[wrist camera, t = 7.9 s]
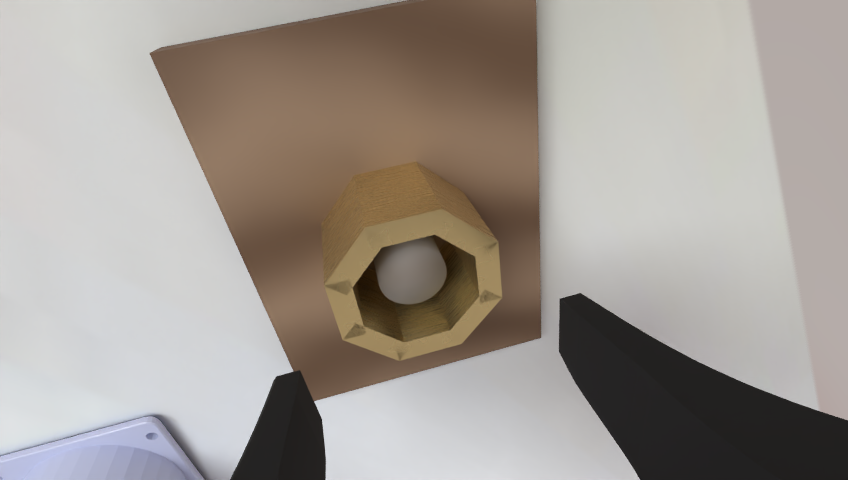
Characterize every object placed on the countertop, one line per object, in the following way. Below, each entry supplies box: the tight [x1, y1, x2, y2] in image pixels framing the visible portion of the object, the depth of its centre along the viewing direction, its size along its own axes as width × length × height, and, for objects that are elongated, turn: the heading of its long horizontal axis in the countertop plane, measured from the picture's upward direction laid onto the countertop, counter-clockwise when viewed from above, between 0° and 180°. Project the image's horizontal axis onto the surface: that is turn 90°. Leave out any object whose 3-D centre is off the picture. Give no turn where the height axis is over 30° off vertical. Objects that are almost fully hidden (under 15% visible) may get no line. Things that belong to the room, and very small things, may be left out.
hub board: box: [150, 0, 541, 401], centre depth 17 cm, size 16×12×4 cm
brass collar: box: [321, 161, 502, 361], centre depth 16 cm, size 6×6×4 cm
